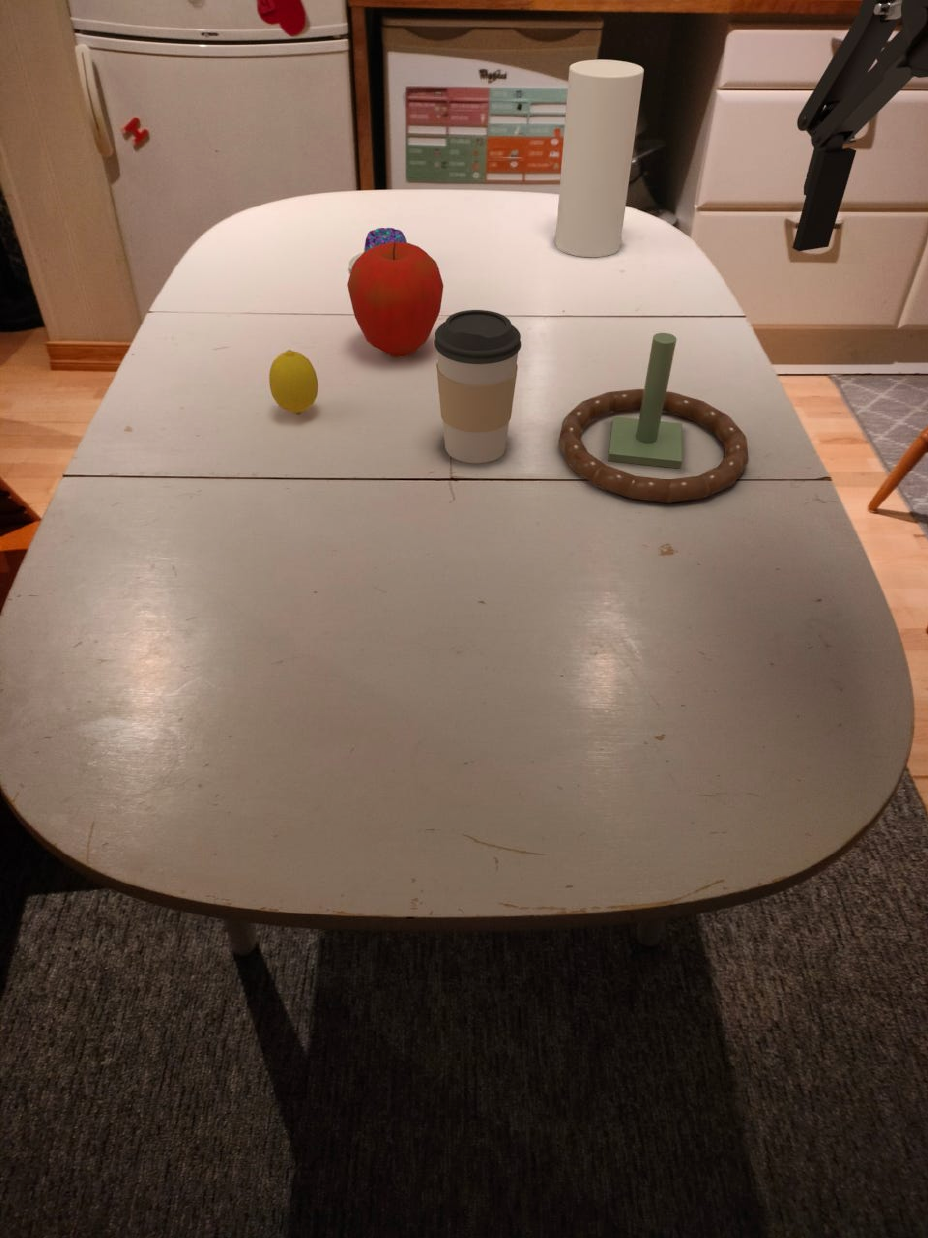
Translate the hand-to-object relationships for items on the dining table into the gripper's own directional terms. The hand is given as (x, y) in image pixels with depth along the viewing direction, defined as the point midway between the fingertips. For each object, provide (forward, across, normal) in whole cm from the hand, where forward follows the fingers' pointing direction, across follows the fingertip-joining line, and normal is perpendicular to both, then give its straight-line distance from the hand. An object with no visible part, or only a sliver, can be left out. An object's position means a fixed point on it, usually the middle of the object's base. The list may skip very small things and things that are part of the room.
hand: (873, 281), depth 58 cm
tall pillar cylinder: (+28, -82, +25) cm, 90 cm away
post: (+29, -26, +2) cm, 39 cm away
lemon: (+29, -47, -33) cm, 64 cm away
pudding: (+28, -85, -9) cm, 90 cm away
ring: (+28, -25, +3) cm, 37 cm away
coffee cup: (+29, -33, -16) cm, 47 cm away
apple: (+28, -58, -16) cm, 67 cm away
